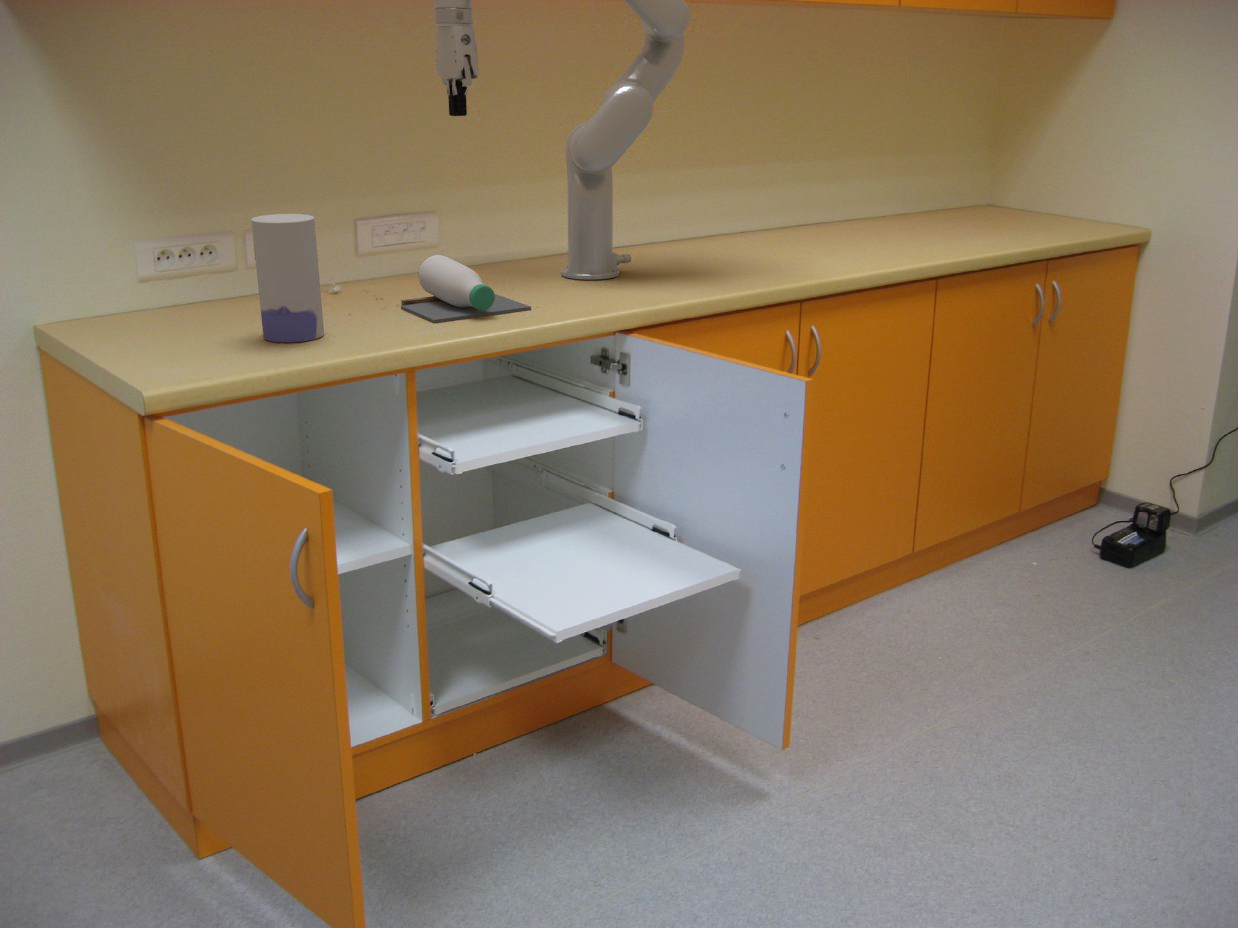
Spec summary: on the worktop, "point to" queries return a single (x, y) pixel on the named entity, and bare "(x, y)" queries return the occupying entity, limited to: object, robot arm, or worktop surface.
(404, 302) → the rail
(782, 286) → the worktop surface
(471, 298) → the milk bottle
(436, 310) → the mat
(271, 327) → the container
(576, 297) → the worktop surface
